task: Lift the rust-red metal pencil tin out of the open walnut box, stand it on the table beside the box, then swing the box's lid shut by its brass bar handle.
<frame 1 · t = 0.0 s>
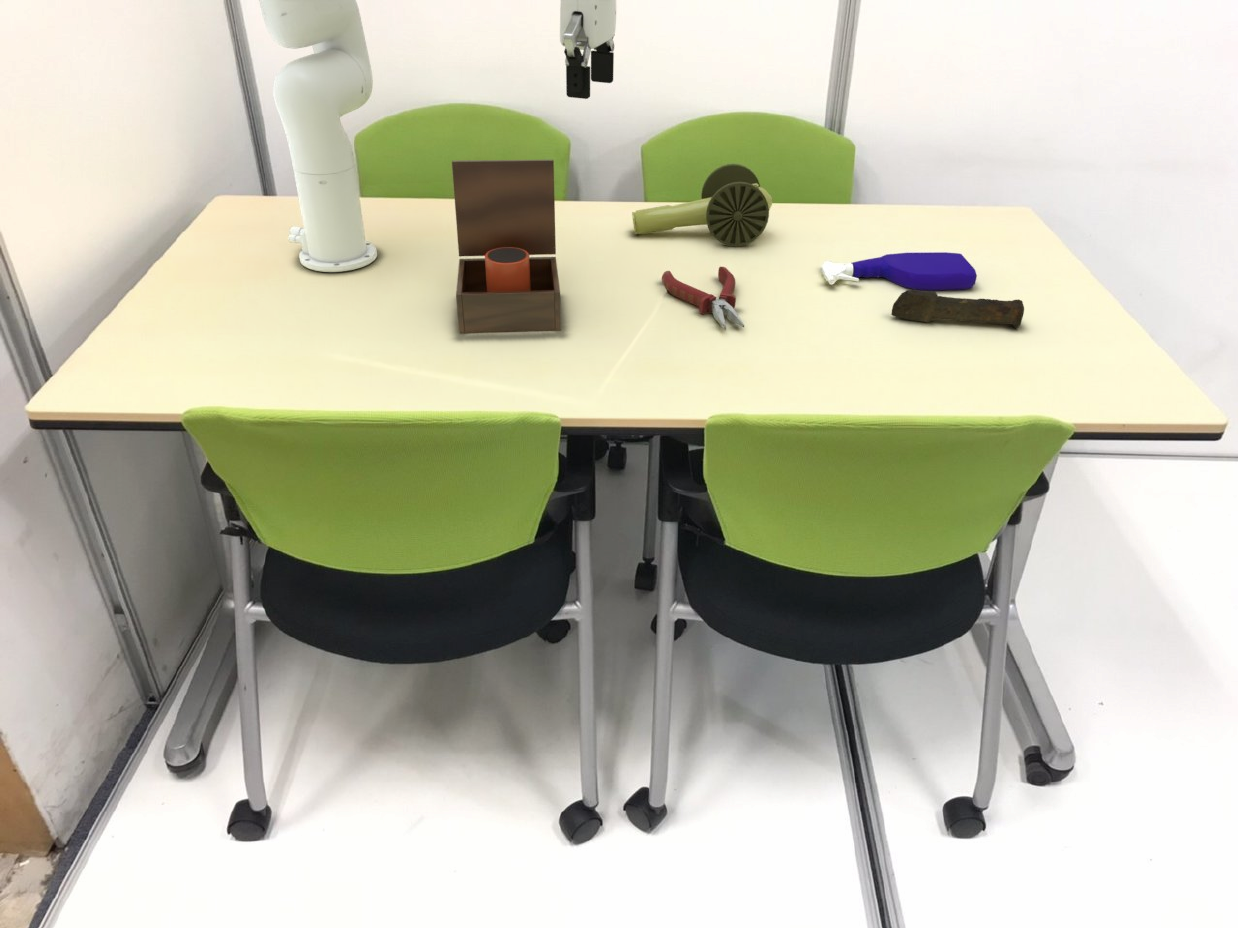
hand: (590, 89, 128), 31 cm above the table, tool pointing down, fingers open, 9 cm apart
spray bottle: (894, 280, 155), on the table
hand tool: (954, 324, 141), on the table
lid: (505, 205, 139), point 14 cm above the table, hinge at 95.0°
pliers: (701, 305, 145), on the table
box: (510, 317, 140), on the table
cannon: (699, 236, 169), on the table
pencil tin: (509, 312, 139), point 1 cm above the table, touching box
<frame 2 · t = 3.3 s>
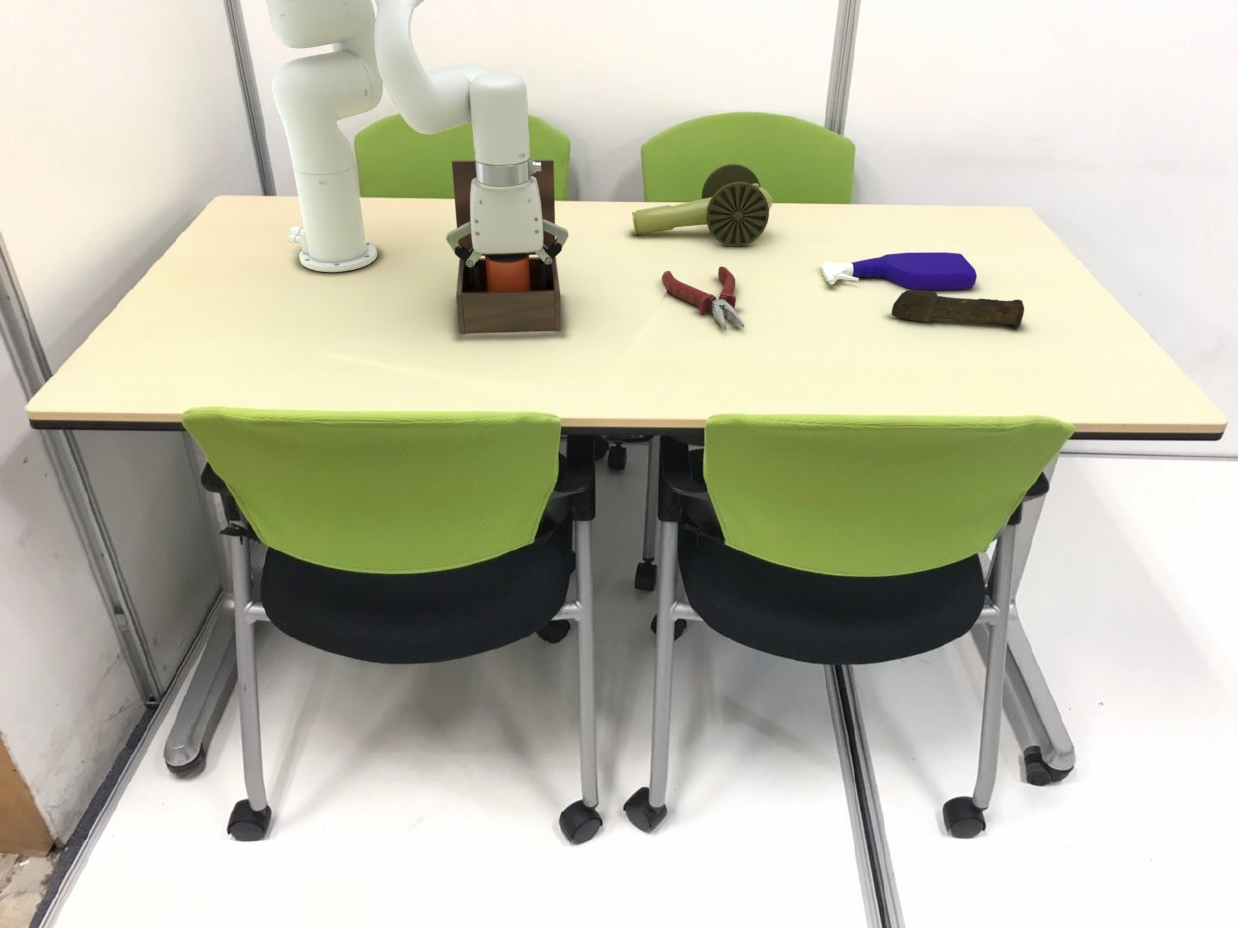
hand: (511, 288, 137), 5 cm above the table, tool pointing down, fingers open, 9 cm apart
nothing on the table moved.
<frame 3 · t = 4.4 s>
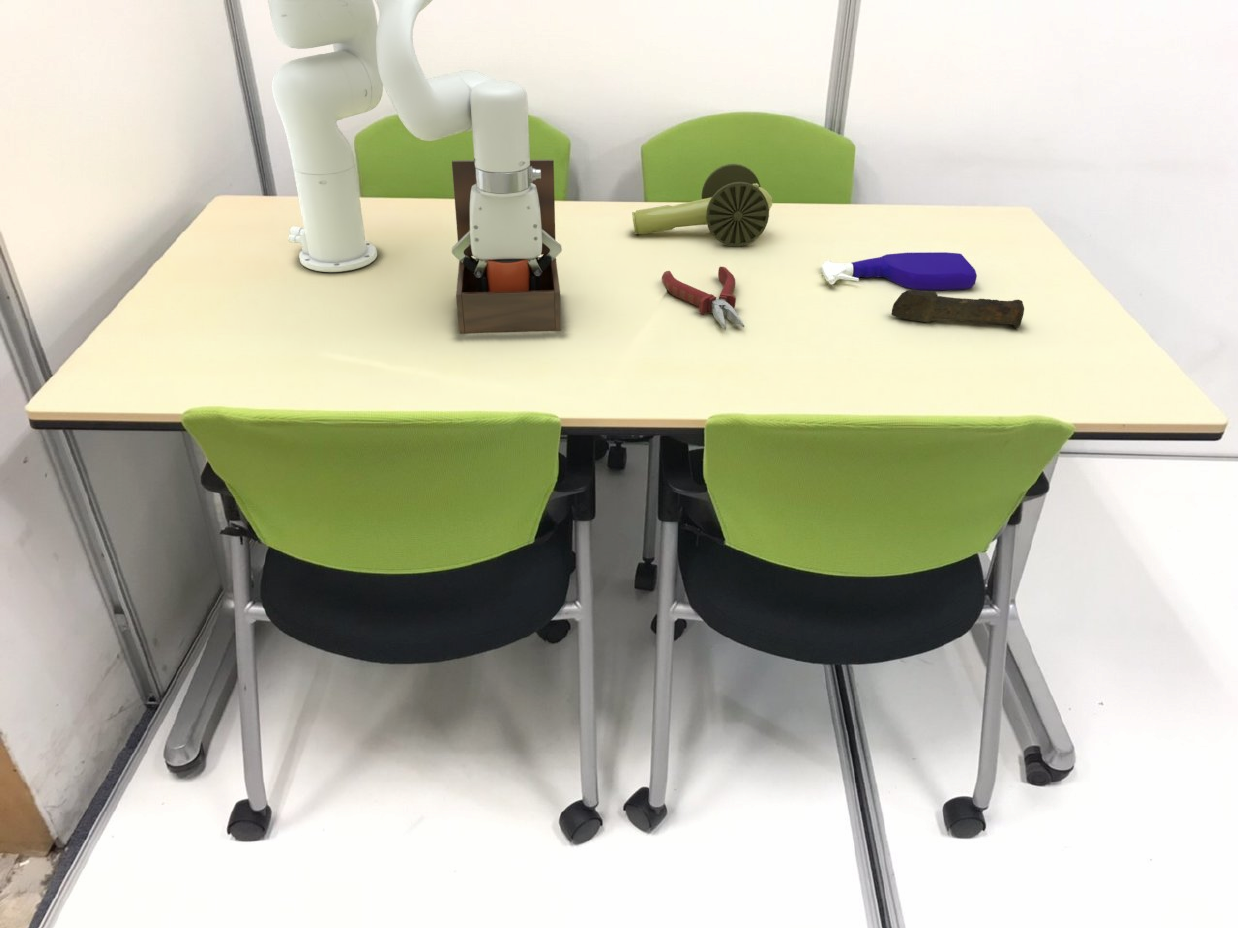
hand: (509, 297, 138), 3 cm above the table, tool pointing down, fingers closed on pencil tin, 6 cm apart
pencil tin: (510, 312, 139), point 1 cm above the table, touching box, gripper
everything else where it was.
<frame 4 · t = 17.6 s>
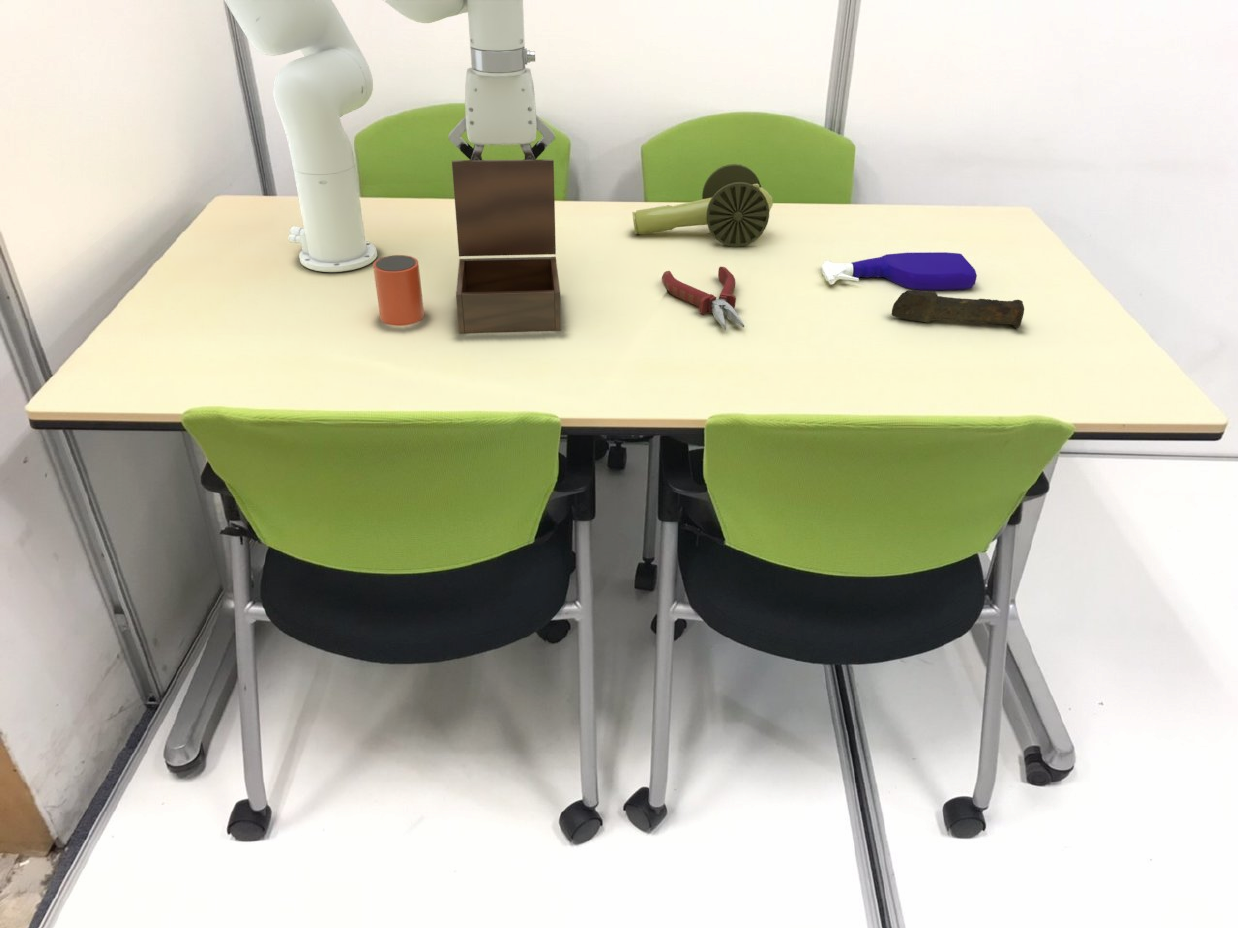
hand: (504, 186, 140), 16 cm above the table, tool pointing down, fingers closed on lid, 6 cm apart
lid: (505, 205, 139), point 14 cm above the table, hinge at 95.0°, touching gripper
pencil tin: (402, 320, 138), on the table
everything else where it was.
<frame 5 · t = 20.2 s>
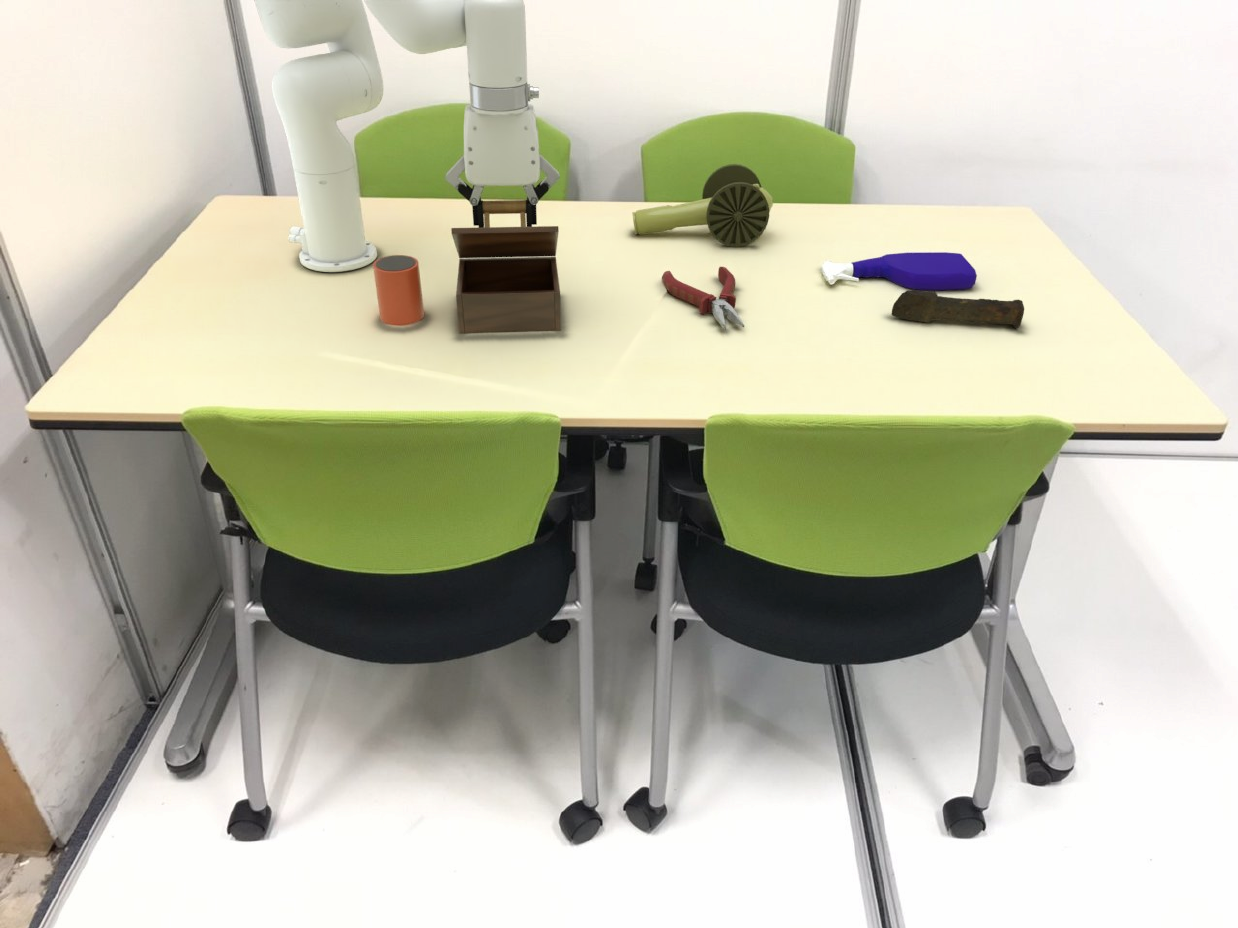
hand: (505, 228, 131), 14 cm above the table, tool pointing down, fingers closed on lid, 6 cm apart
lid: (505, 228, 134), point 13 cm above the table, hinge at 35.8°, touching gripper
everything else where it was.
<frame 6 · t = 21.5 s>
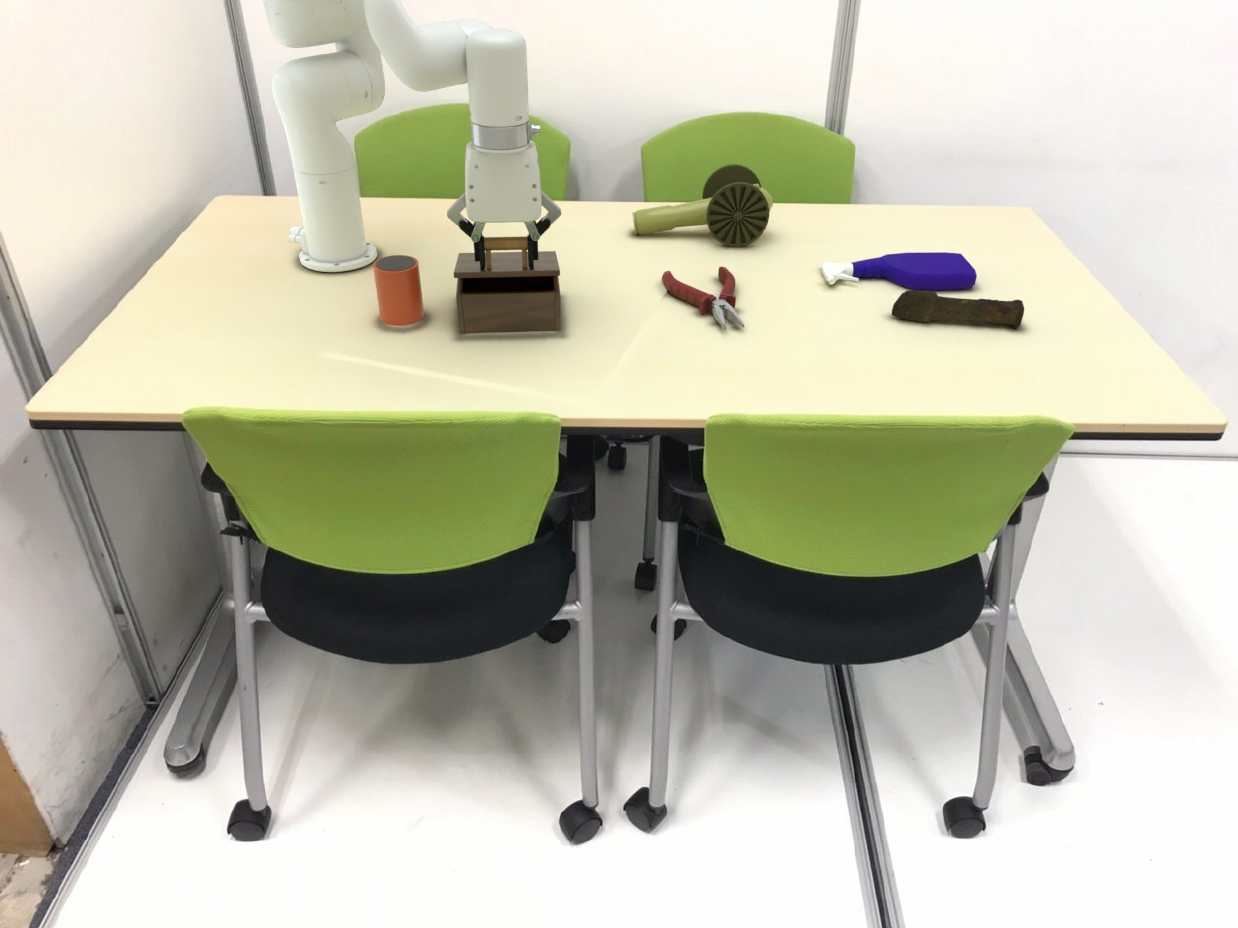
hand: (507, 264, 131), 10 cm above the table, tool pointing down, fingers closed on lid, 6 cm apart
lid: (506, 249, 134), point 11 cm above the table, hinge at 11.1°, touching gripper
everything else where it was.
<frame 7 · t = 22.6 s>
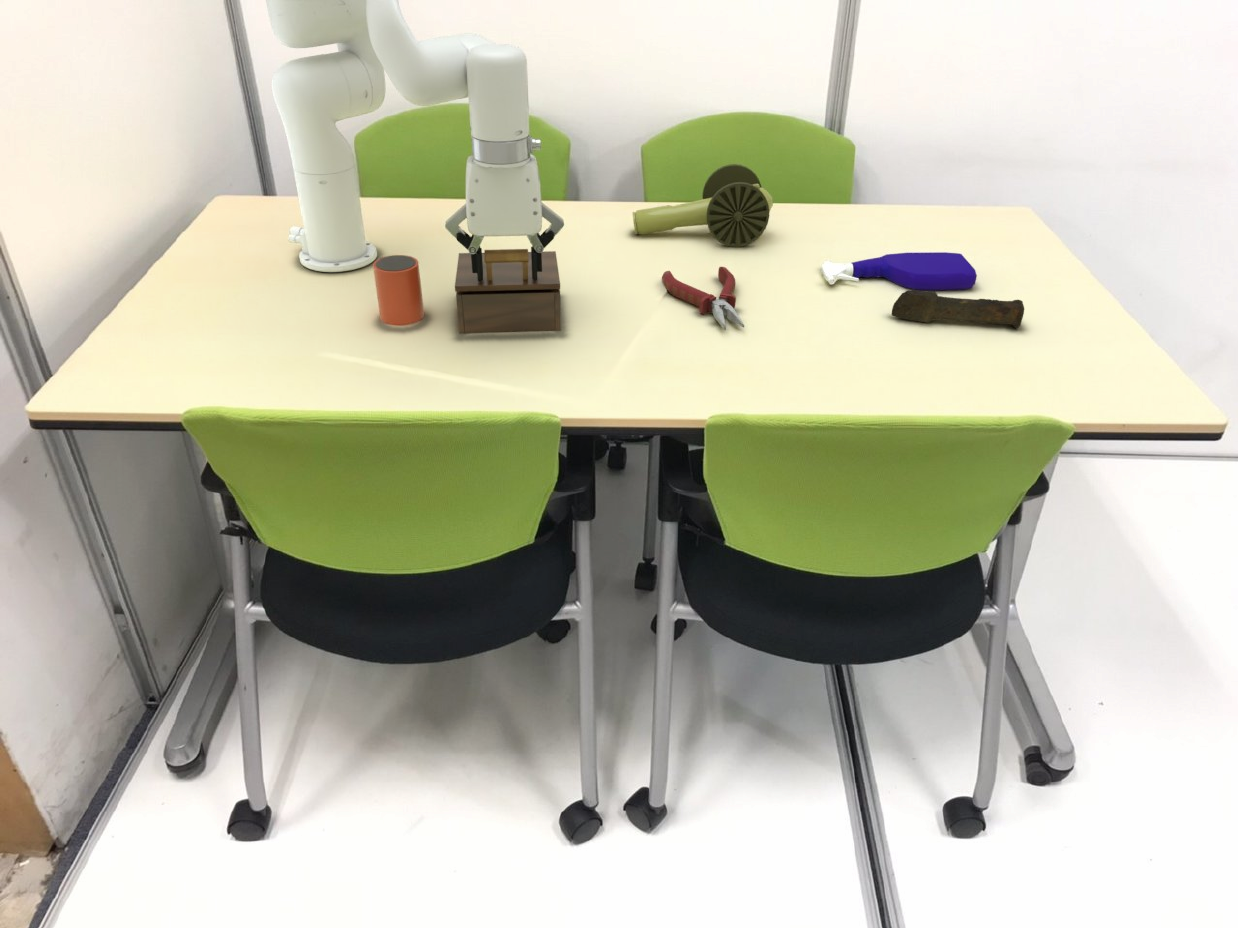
hand: (507, 276, 131), 9 cm above the table, tool pointing down, fingers open, 7 cm apart
lid: (507, 256, 134), point 10 cm above the table, hinge at 3.2°
everything else where it was.
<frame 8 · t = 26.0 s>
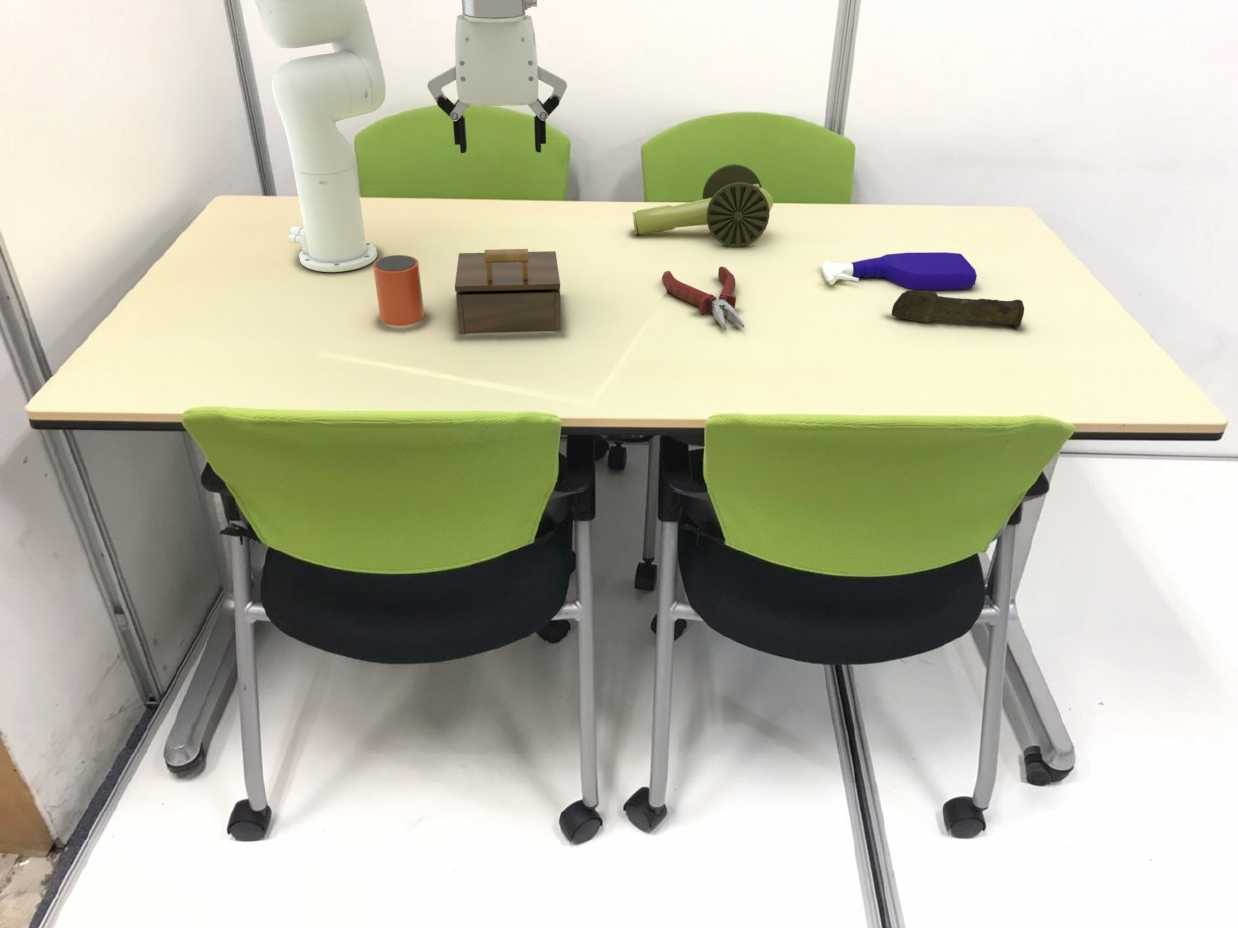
hand: (501, 150, 121), 26 cm above the table, tool pointing down, fingers open, 9 cm apart
nothing on the table moved.
at the end: pencil tin inside the target area (0.1 cm from its centre), on the table; pencil tin tilted 0°; lid at +3° (first picture: +95°) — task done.
